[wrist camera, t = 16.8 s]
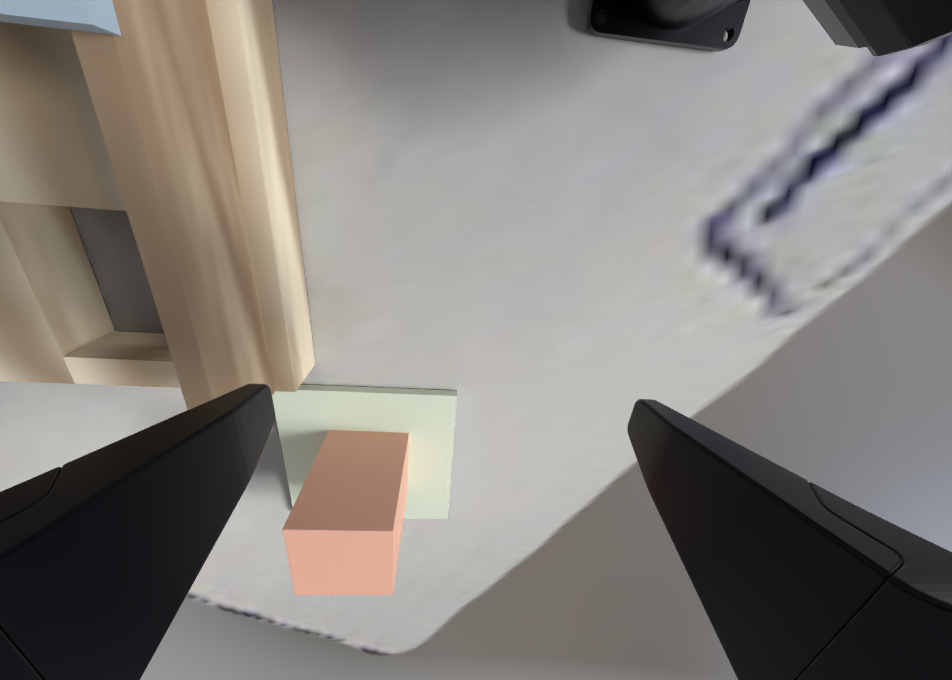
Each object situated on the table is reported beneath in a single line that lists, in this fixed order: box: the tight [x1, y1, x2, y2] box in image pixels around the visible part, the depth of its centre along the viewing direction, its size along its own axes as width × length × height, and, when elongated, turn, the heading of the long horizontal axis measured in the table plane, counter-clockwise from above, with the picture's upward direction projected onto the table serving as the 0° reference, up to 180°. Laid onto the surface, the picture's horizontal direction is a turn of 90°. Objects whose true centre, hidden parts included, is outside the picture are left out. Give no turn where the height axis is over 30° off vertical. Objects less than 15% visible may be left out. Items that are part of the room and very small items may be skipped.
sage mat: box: [272, 384, 457, 519], centre depth 25 cm, size 11×11×1 cm
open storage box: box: [0, 0, 315, 410], centre depth 13 cm, size 14×24×8 cm, turn 175°
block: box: [282, 430, 409, 595], centre depth 21 cm, size 5×5×7 cm
